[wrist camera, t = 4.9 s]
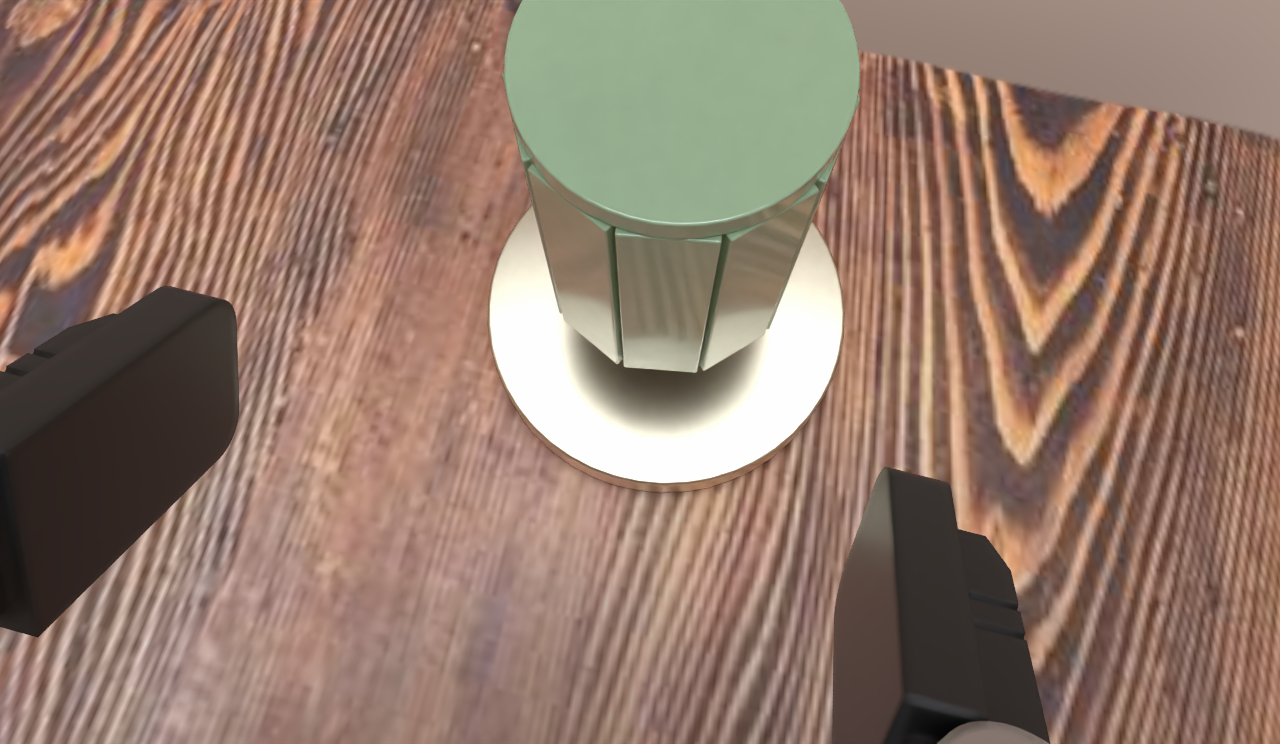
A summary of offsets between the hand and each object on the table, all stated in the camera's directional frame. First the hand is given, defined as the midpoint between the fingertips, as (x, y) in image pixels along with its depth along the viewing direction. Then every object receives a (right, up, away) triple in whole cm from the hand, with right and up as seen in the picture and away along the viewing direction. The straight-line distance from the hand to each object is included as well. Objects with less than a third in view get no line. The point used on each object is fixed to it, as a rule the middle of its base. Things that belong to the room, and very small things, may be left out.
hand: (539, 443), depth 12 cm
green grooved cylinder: (+2, +4, +14) cm, 15 cm away
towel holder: (+2, +2, +20) cm, 20 cm away
